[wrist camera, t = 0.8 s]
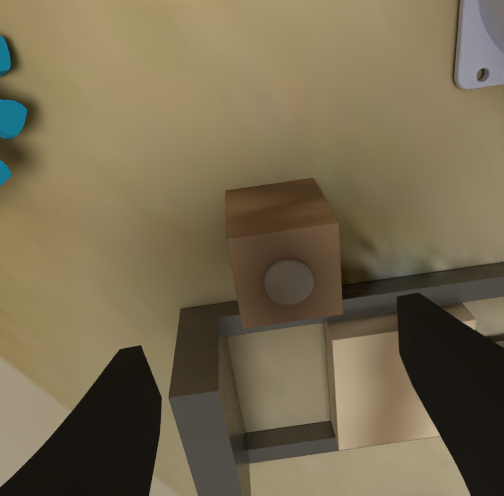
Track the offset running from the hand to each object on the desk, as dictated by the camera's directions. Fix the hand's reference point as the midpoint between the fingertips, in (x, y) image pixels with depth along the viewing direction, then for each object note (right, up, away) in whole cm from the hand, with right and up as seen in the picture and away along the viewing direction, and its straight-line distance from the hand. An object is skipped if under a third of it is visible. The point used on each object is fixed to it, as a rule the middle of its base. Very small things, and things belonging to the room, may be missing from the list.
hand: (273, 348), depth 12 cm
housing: (0, +4, +9) cm, 10 cm away
